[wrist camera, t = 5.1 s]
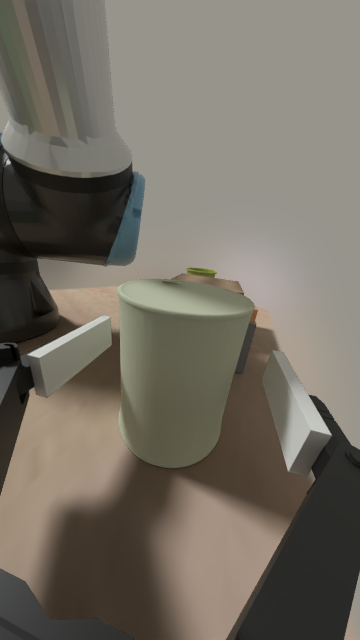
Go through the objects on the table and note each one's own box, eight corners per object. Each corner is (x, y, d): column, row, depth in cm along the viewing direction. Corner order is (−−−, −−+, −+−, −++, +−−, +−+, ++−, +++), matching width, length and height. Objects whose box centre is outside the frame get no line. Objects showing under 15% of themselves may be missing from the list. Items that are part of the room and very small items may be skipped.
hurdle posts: (139, 350, 26) (140, 303, 24) (145, 342, 28) (147, 298, 26) (242, 373, 24) (256, 324, 21) (240, 363, 26) (253, 317, 23)
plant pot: (197, 302, 53) (202, 272, 50) (177, 294, 59) (180, 266, 56) (217, 300, 59) (223, 272, 56) (197, 292, 65) (201, 267, 62)
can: (190, 373, 23) (207, 275, 18) (243, 441, 15) (292, 303, 11) (112, 390, 19) (108, 270, 14) (130, 494, 11) (135, 310, 7)
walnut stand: (162, 331, 33) (166, 281, 29) (178, 311, 44) (182, 273, 40) (230, 345, 31) (243, 293, 27) (229, 321, 42) (238, 281, 38)
